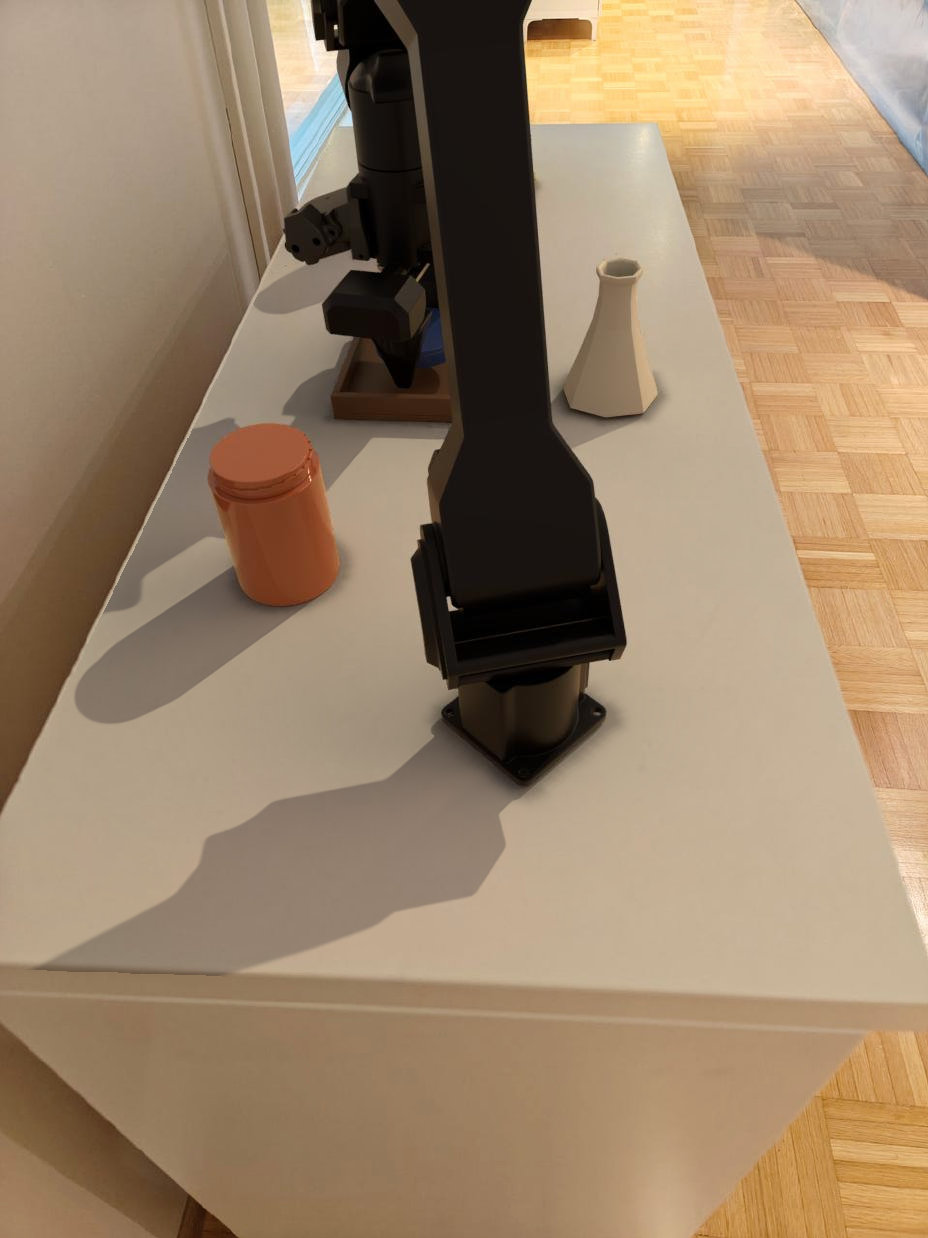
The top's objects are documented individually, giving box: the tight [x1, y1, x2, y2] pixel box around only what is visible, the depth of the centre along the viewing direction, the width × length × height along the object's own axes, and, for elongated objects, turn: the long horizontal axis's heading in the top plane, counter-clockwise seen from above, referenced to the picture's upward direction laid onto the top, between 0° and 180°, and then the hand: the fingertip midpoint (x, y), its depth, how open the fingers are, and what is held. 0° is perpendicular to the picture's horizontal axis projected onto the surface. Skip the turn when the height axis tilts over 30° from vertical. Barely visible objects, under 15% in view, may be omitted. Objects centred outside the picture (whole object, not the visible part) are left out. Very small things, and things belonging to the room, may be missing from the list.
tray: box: [330, 337, 452, 423], centre depth 73 cm, size 13×11×2 cm
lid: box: [375, 307, 446, 368], centre depth 71 cm, size 7×7×1 cm
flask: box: [562, 257, 659, 418], centre depth 66 cm, size 7×7×10 cm
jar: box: [207, 422, 341, 607], centre depth 55 cm, size 6×6×9 cm
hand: (418, 363), depth 73 cm, fingers closed on lid, 7 cm apart
